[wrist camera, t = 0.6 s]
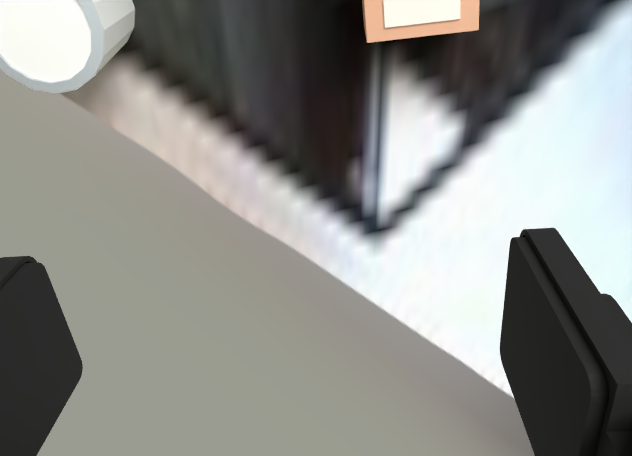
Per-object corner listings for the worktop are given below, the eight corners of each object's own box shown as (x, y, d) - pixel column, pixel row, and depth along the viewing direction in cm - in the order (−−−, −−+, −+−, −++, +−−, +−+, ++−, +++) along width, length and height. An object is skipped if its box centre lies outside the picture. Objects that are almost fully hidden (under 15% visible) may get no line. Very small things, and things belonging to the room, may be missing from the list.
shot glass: (105, 85, 37) (59, 119, 31) (15, 7, 35) (-54, 28, 29) (167, 9, 34) (130, 30, 28) (74, -80, 32) (12, -78, 26)
